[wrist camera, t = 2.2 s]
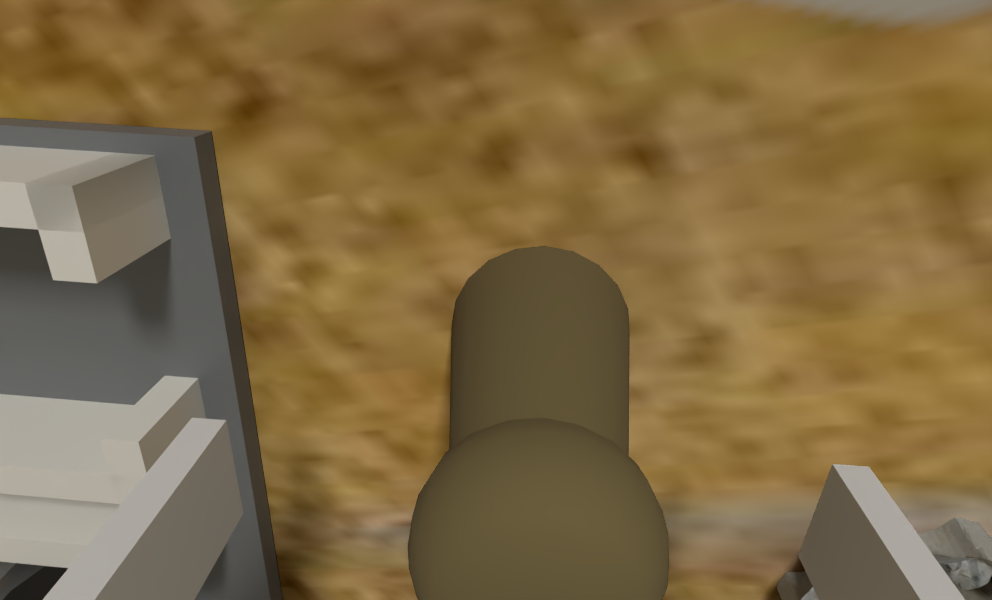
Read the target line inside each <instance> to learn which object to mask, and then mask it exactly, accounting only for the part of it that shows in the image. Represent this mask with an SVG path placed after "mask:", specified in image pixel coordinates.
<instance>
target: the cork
mask: <svg viewBox="0 0 992 600" xmlns="http://www.w3.org/2000/svg"><path fill="white" fill-rule="evenodd" d="M628 454H629V315H628V308H627V305H626V303H625V301H624V298H623V296H622V294H621V292H620V289H619V287H618V285H617V284H616V283H615V282H614V281H613V280H612V279H611V278H610V277H609V275H608V274H607V273H606V272H605V271H604V270H603V269H602V268H601V267H600V266H599V265H597V264H595V263H594V262H592V261H590V260H588V259H586V258H584V257H582V256H581V255H579V254H577V253H575V252H572V251H567V250H562V249H557V248H552V247H546V246H541V247H532V248H522V249H515V250H512V251H510V252H508V253H505V254H503V255H501V256H498V257H496V258H494V259H491V260H489V261H488V262H487V263H485V264H484V265H483V266H482V267H481V268H480V269H479V270H478V271H476V272H475V273H474V274H473V275H472V276H471V277H470V278H468V280H467V282H466V284H465V285H464V287H463V289H462V291H461V292H460V294H459V296H458V298H457V300H456V302H455V308H454V314H453V320H452V337H451V391H450V444H449V451H447V452H446V453H445V455H444V456H443V458H442V459H441V461H440V462H439V464H438V465H437V467H436V468H435V470H434V471H433V473H432V474H431V476H430V478H429V479H428V481H427V482H426V484H425V485H424V487H423V489H422V490H421V492H420V493H419V495H418V499H417V502H416V506H415V509H414V513H413V516H412V523H411V529H410V535H409V542H408V558H409V570H410V574H411V577H412V581H413V585H414V588H415V592H416V596H417V598H418V600H662V598H663V596H664V593H665V591H666V589H667V583H668V569H669V549H668V531H667V527H666V523H665V520H664V516H663V512H662V509H661V507H660V505H659V503H658V501H657V499H656V497H655V495H654V493H653V491H652V489H651V486H650V484H649V482H648V481H647V479H646V477H645V476H644V474H643V473H642V471H641V470H640V468H639V466H638V465H637V464H636V463H635V462H634V461H633V460H632V459H631V458H630V457H629V456H628Z"/></svg>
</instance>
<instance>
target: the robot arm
mask: <svg viewBox="0 0 992 600" xmlns="http://www.w3.org/2000/svg"><path fill="white" fill-rule="evenodd" d="M242 515H243V508H242V503H241V497H240V492H239V486H238V481H237V476H236V470H235V465H234V459H233V454H232V448H231V443H230V437H229V432H228V427H227V421H226V420H217V419H203V418H191V419H190V421H189V422H188V423H187V424H186V426H185V427H184V428H183V429H182V430H181V432H180V433H179V434H178V435H177V437H176V438H175V439H174V440H173V441H172V443H171V444H170V445H169V446H168V448H167V449H166V450H165V451H164V452H163V454H162V455H161V456H160V457H159V458H158V460H157V461H156V462H155V463H154V465H153V466H152V467H151V468H150V469H149V471H148V472H147V473H146V474H145V476H144V477H143V478H142V479H141V480H140V482H139V483H138V484H137V485H136V486H135V488H134V489H133V490H132V491H131V493H130V494H129V495H128V496H127V497H126V499H125V500H124V501H123V502H122V504H121V505H120V506H119V507H118V508H117V510H116V511H115V512H114V513H113V515H112V516H111V517H110V518H109V519H108V521H107V522H106V523H105V524H104V525H103V527H102V528H101V529H100V530H99V532H98V533H97V534H96V535H95V536H94V538H93V539H92V540H91V541H90V543H89V544H88V545H87V546H86V547H85V549H84V550H83V551H82V552H81V554H80V555H79V556H78V557H77V558H76V560H75V561H74V562H73V563H72V564H71V566H70V567H69V568H57V567H43V568H42V569H40V570H39V571H37V572H36V573H35V574H33V575H32V576H31V577H29V578H28V579H26V580H25V581H24V582H22V583H21V584H19V585H18V586H17V587H15V588H14V589H12V590H11V591H10V592H9V593H8V594H7V595H6V597H5V598H4V599H3V600H195V598H196V596H197V595H198V593H199V591H200V589H201V587H202V586H203V584H204V582H205V580H206V579H207V577H208V575H209V573H210V572H211V570H212V568H213V566H214V565H215V563H216V561H217V559H218V557H219V556H220V554H221V552H222V550H223V549H224V547H225V545H226V543H227V542H228V540H229V538H230V536H231V534H232V533H233V531H234V529H235V527H236V526H237V524H238V522H239V520H240V519H241V517H242ZM798 557H799V559H800V561H801V563H802V565H803V567H804V569H805V571H806V573H807V575H808V578H809V580H810V582H811V584H812V586H813V588H814V590H815V592H816V594H817V596H818V598H819V600H965V599H964V597H963V596H962V595H961V593H960V592H959V590H958V589H957V588H956V586H955V585H954V584H953V582H952V581H951V579H950V578H949V577H948V575H947V574H946V573H945V571H944V570H943V568H942V567H941V566H940V564H939V563H938V561H937V560H936V559H935V557H934V556H933V555H932V553H931V552H930V550H929V549H928V548H927V546H926V545H925V543H924V542H923V541H922V539H921V538H920V537H919V535H918V534H917V532H916V531H915V530H914V528H913V527H912V526H911V524H910V523H909V521H908V520H907V519H906V517H905V516H904V514H903V513H902V512H901V510H900V509H899V508H898V506H897V505H896V503H895V502H894V501H893V499H892V498H891V497H890V495H889V494H888V492H887V491H886V490H885V488H884V487H883V485H882V484H881V483H880V481H879V480H878V479H877V477H876V476H875V474H874V473H873V472H872V470H871V469H870V468H869V467H866V466H852V465H838V464H832V467H831V469H830V472H829V475H828V477H827V480H826V483H825V485H824V488H823V491H822V494H821V496H820V499H819V502H818V504H817V507H816V510H815V512H814V515H813V518H812V520H811V523H810V526H809V528H808V531H807V534H806V536H805V539H804V542H803V544H802V547H801V550H800V552H799V555H798Z"/></svg>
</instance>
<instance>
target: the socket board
mask: <svg viewBox="0 0 992 600" xmlns="http://www.w3.org/2000/svg"><path fill="white" fill-rule="evenodd" d="M191 418H203V419H217V420H226V421H227V427H228V432H229V437H230V443H231V448H232V454H233V459H234V465H235V470H236V476H237V481H238V486H239V492H240V497H241V503H242V508H243V515H242V517H241V519H240V520H239V522H238V524H237V526H236V527H235V529H234V531H233V533H232V534H231V536H230V538H229V540H228V542H227V543H226V545H225V547H224V549H223V550H222V552H221V554H220V556H219V557H218V559H217V561H216V563H215V565H214V566H213V568H212V570H211V572H210V573H209V575H208V577H207V579H206V580H205V582H204V584H203V586H202V587H201V589H200V591H199V593H198V595H197V596H196V598H195V600H283V599H282V593H281V586H280V579H279V573H278V566H277V560H276V553H275V547H274V540H273V534H272V527H271V520H270V514H269V507H268V501H267V494H266V488H265V481H264V474H263V468H262V461H261V455H260V448H259V442H258V435H257V429H256V422H255V415H254V409H253V402H252V396H251V389H250V383H249V376H248V369H247V363H246V356H245V350H244V343H243V337H242V330H241V324H240V317H239V310H238V304H237V297H236V291H235V284H234V278H233V271H232V264H231V258H230V251H229V245H228V238H227V232H226V225H225V219H224V212H223V205H222V199H221V192H220V186H219V179H218V173H217V166H216V159H215V153H214V146H213V140H212V133H211V131H202V130H186V129H170V128H154V127H138V126H122V125H106V124H90V123H74V122H58V121H42V120H26V119H10V118H0V600H3V599H4V598H5V597H6V595H7V594H8V593H9V592H10V591H11V590H12V589H14V588H15V587H17V586H18V585H19V584H21V583H22V582H24V581H25V580H26V579H28V578H29V577H31V576H32V575H33V574H35V573H36V572H37V571H39V570H40V569H42V568H43V567H57V568H69V567H70V566H71V564H72V563H73V562H74V561H75V560H76V558H77V557H78V556H79V555H80V554H81V552H82V551H83V550H84V549H85V547H86V546H87V545H88V544H89V543H90V541H91V540H92V539H93V538H94V536H95V535H96V534H97V533H98V532H99V530H100V529H101V528H102V527H103V525H104V524H105V523H106V522H107V521H108V519H109V518H110V517H111V516H112V515H113V513H114V512H115V511H116V510H117V508H118V507H119V506H120V505H121V504H122V502H123V501H124V500H125V499H126V497H127V496H128V495H129V494H130V493H131V491H132V490H133V489H134V488H135V486H136V485H137V484H138V483H139V482H140V480H141V479H142V478H143V477H144V476H145V474H146V473H147V472H148V471H149V469H150V468H151V467H152V466H153V465H154V463H155V462H156V461H157V460H158V458H159V457H160V456H161V455H162V454H163V452H164V451H165V450H166V449H167V448H168V446H169V445H170V444H171V443H172V441H173V440H174V439H175V438H176V437H177V435H178V434H179V433H180V432H181V430H182V429H183V428H184V427H185V426H186V424H187V423H188V422H189V421H190V419H191Z"/></svg>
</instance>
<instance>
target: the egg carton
mask: <svg viewBox="0 0 992 600" xmlns="http://www.w3.org/2000/svg"><path fill="white" fill-rule="evenodd" d="M917 534H918V535H919V537H920V538H921V539H922V541H923V542H924V543H925V545H926V546H927V548H928V549H929V550H930V552H931V553H932V555H933V556H934V557H935V559H936V560H937V561H938V563H939V564H940V566H941V567H942V568H943V570H944V571H945V573H946V574H947V575H948V577H949V578H950V579H951V581H952V582H953V584H954V585H955V586H956V588H957V589H958V590H959V592H960V593H961V595H962V596H963V597H964V599H965V600H992V583H991V581H990V578H991V576H992V539H991V537H990V536H989V535H988V534H987V533H986V531H985V530H984V529H983V528H982V526H981V525H980V524H979V523H978V522H974V521H970V520H966V519H962V518H953V519H952V520H950V521H949V522H947V523H946V524H944V525H943V526H941V527H939V528H936V529H934V530H931V531H927V532H917ZM776 587H777V589H778V592H779V595H780V597H781V599H782V600H819V598H818V596H817V594H816V592H815V590H814V588H813V586H812V584H811V582H810V580H809V578H808V575H807V573H806V571H802V572H786V573H785V575H784V576H783V577H782V579H781V580H780V581H779V583H778V585H777V586H776Z"/></svg>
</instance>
